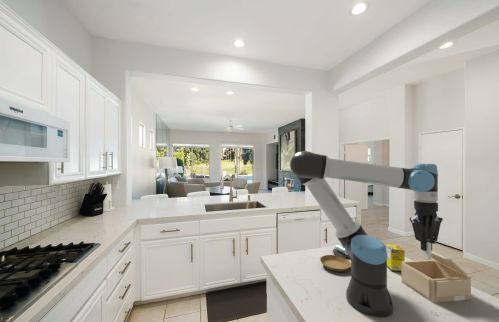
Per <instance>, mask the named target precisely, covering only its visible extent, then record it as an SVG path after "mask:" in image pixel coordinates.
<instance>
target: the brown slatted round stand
mask: <svg viewBox="0 0 499 322" xmlns="http://www.w3.org/2000/svg"><path fill="white" fill-rule="evenodd" d="M332 253H333V255H336V256H340V257H343V258H345V259H350V258H349V256H348V254H347V252H346V250H345V249H344V247H343V246H342V245H341V244H335V246H334V248H333V249H332Z"/></svg>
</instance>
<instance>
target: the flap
mask: <svg viewBox="0 0 499 322" xmlns="http://www.w3.org/2000/svg"><path fill="white" fill-rule="evenodd" d="M431 259H432V260H435V261H437V262H439V263H441V264H443V265H445V266H447V267H450V268H452V269H454V270H456V271H458V272H460V273H462V274H464V275H466V276H468V273H467V272H466V271H465V270H464V269H462V268H461V267H460V266H459V265H458V264H457V263H456V262H454V260H452V259H450V258H448V257H446V256H443V255H441V254H439V253H436V252H435V251H433V250H431Z"/></svg>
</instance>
